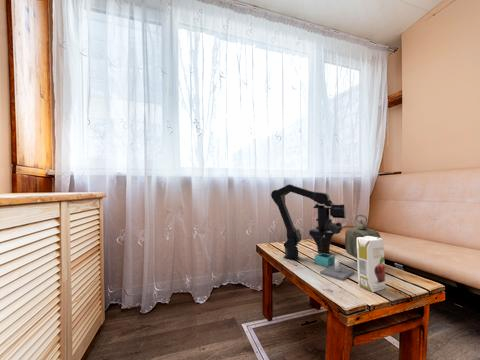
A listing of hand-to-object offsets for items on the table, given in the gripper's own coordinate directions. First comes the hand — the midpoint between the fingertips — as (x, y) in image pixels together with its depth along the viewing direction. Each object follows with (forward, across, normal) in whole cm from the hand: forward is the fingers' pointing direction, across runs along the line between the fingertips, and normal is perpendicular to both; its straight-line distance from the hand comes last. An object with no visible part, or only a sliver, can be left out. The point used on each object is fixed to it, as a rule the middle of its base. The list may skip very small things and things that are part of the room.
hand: (324, 247), depth 109 cm
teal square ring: (+8, 0, 0) cm, 8 cm away
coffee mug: (+8, +19, +11) cm, 23 cm away
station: (+8, -8, -10) cm, 15 cm away
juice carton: (+8, -12, -25) cm, 29 cm away
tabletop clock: (+8, +12, -14) cm, 20 cm away
